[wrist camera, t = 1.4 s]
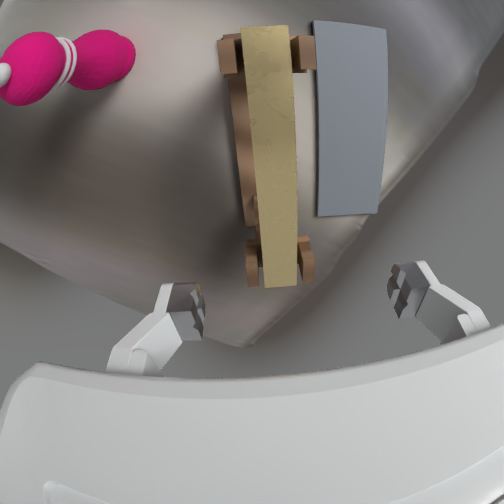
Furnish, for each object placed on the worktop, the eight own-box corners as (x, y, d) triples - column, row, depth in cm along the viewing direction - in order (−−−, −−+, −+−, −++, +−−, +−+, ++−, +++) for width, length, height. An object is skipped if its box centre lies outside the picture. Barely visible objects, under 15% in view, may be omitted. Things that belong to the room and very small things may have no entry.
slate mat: (311, 21, 22) (313, 20, 22) (383, 29, 22) (385, 29, 21) (316, 213, 38) (317, 216, 38) (374, 210, 38) (376, 213, 37)
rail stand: (223, 36, 24) (205, 10, 12) (286, 32, 23) (318, 5, 11) (245, 222, 39) (245, 303, 27) (295, 218, 39) (316, 297, 27)
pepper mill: (151, 49, 24) (43, 46, 8) (116, 95, 27) (2, 146, 11) (111, 23, 21) (-8, 14, 5) (79, 69, 24) (-42, 104, 8)
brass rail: (241, 32, 15) (240, 27, 13) (283, 30, 15) (288, 25, 13) (263, 270, 28) (265, 287, 26) (293, 267, 28) (296, 285, 26)
